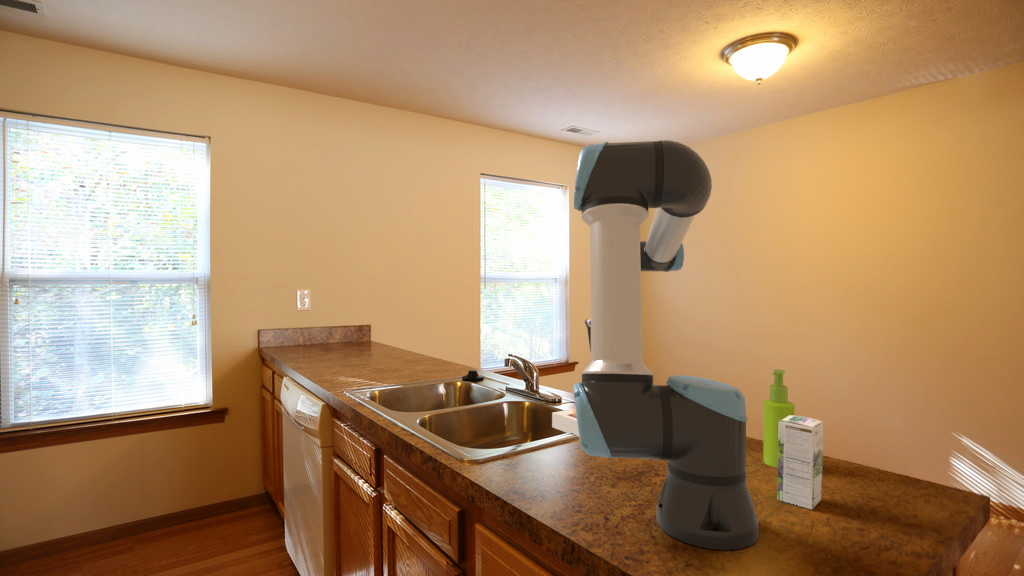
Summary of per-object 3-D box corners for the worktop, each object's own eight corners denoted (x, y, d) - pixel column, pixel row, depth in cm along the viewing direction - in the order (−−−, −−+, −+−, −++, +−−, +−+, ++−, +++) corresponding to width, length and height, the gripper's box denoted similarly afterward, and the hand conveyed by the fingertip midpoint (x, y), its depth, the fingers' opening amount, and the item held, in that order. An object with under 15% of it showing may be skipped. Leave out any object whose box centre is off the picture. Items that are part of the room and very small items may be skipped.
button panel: (588, 440, 124) (588, 424, 124) (552, 427, 135) (552, 412, 135) (657, 423, 138) (657, 409, 138) (619, 413, 150) (619, 399, 150)
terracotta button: (581, 423, 128) (581, 411, 128) (569, 419, 132) (569, 407, 132) (595, 420, 131) (595, 408, 131) (582, 416, 135) (582, 405, 135)
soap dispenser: (795, 460, 109) (795, 369, 109) (793, 470, 103) (793, 374, 103) (765, 455, 112) (765, 367, 112) (761, 465, 106) (761, 371, 106)
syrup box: (787, 491, 93) (787, 413, 93) (823, 501, 89) (823, 419, 89) (776, 500, 89) (776, 419, 89) (814, 511, 85) (814, 426, 85)
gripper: (595, 294, 129) (595, 385, 129) (633, 294, 137) (633, 379, 138) (576, 294, 135) (576, 381, 136) (613, 293, 144) (613, 375, 144)
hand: (605, 380), depth 137 cm, fingers closed
